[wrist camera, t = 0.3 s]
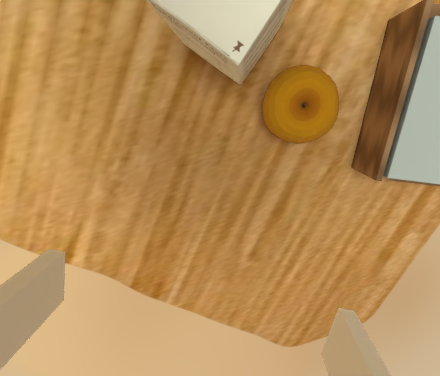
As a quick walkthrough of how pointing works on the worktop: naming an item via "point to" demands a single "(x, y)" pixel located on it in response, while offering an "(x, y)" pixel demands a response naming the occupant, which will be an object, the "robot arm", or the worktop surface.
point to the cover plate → (420, 117)
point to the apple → (301, 104)
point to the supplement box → (225, 29)
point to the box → (391, 89)
